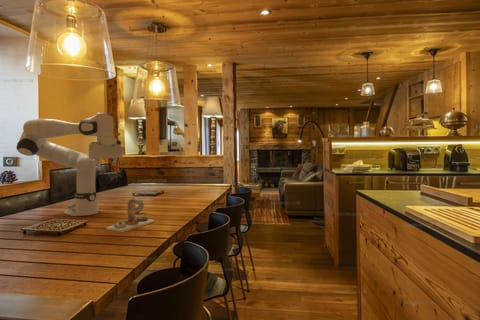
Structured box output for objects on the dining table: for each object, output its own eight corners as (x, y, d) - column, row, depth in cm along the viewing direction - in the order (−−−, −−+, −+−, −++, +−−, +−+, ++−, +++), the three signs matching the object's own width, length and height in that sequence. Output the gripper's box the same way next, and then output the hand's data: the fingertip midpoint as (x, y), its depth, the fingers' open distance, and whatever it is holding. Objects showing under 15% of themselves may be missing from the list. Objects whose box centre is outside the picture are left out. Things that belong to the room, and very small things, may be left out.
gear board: (106, 229, 156) (106, 222, 156) (139, 219, 178) (139, 213, 178) (122, 232, 151) (122, 225, 151) (154, 222, 173) (154, 215, 173)
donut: (144, 212, 200) (143, 197, 199) (143, 213, 196) (143, 198, 196) (128, 212, 197) (128, 198, 197) (127, 214, 194) (127, 199, 193)
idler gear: (122, 223, 163) (121, 199, 162) (131, 221, 169) (131, 197, 169) (131, 225, 160) (131, 200, 159) (140, 222, 166) (140, 198, 166)
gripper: (93, 141, 154) (94, 168, 154) (124, 141, 172) (124, 165, 173) (85, 141, 156) (86, 167, 157) (116, 141, 175) (117, 164, 176)
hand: (106, 166), depth 165 cm, fingers open, 8 cm apart
